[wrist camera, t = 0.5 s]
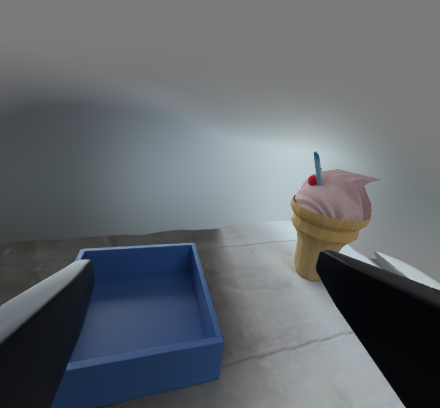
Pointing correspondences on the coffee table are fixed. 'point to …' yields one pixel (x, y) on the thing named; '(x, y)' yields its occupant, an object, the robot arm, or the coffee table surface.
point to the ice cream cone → (328, 215)
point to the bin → (142, 327)
